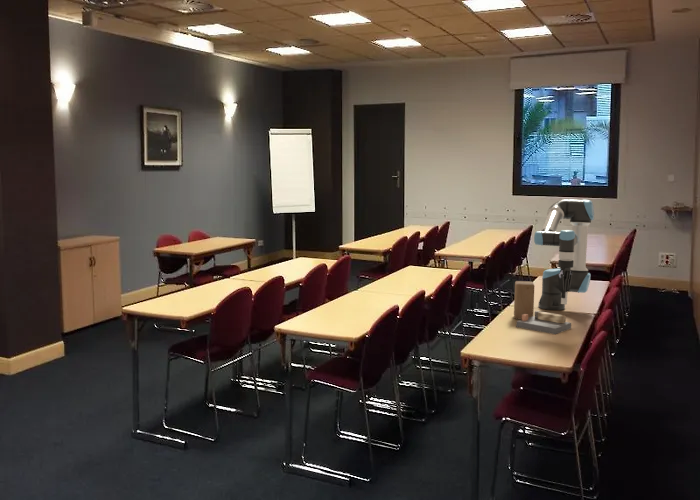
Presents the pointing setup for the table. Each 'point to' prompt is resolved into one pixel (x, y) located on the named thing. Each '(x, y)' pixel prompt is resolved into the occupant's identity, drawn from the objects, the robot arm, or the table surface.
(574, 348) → the table surface
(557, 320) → the folding leg
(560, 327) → the stool seat
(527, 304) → the wooden block
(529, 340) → the table surface
